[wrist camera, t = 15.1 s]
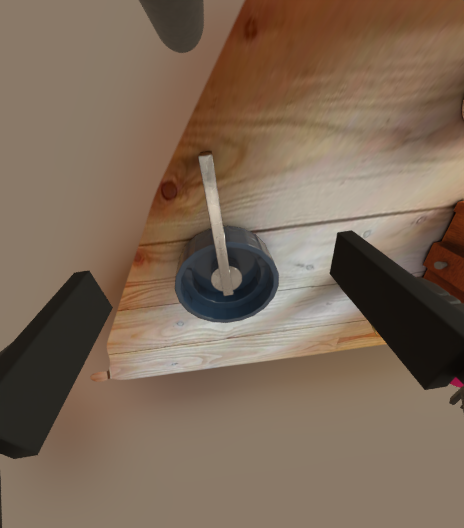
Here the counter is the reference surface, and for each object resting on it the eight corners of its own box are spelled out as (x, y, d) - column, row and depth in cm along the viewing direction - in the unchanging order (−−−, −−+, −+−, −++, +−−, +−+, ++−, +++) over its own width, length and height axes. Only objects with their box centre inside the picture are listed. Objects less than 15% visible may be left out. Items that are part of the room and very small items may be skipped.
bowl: (168, 232, 32) (161, 252, 27) (268, 217, 32) (279, 234, 27) (191, 304, 41) (189, 328, 36) (269, 291, 41) (278, 314, 36)
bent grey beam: (241, 278, 37) (247, 305, 31) (213, 283, 37) (214, 310, 31) (225, 148, 26) (230, 151, 20) (186, 154, 26) (179, 158, 20)
